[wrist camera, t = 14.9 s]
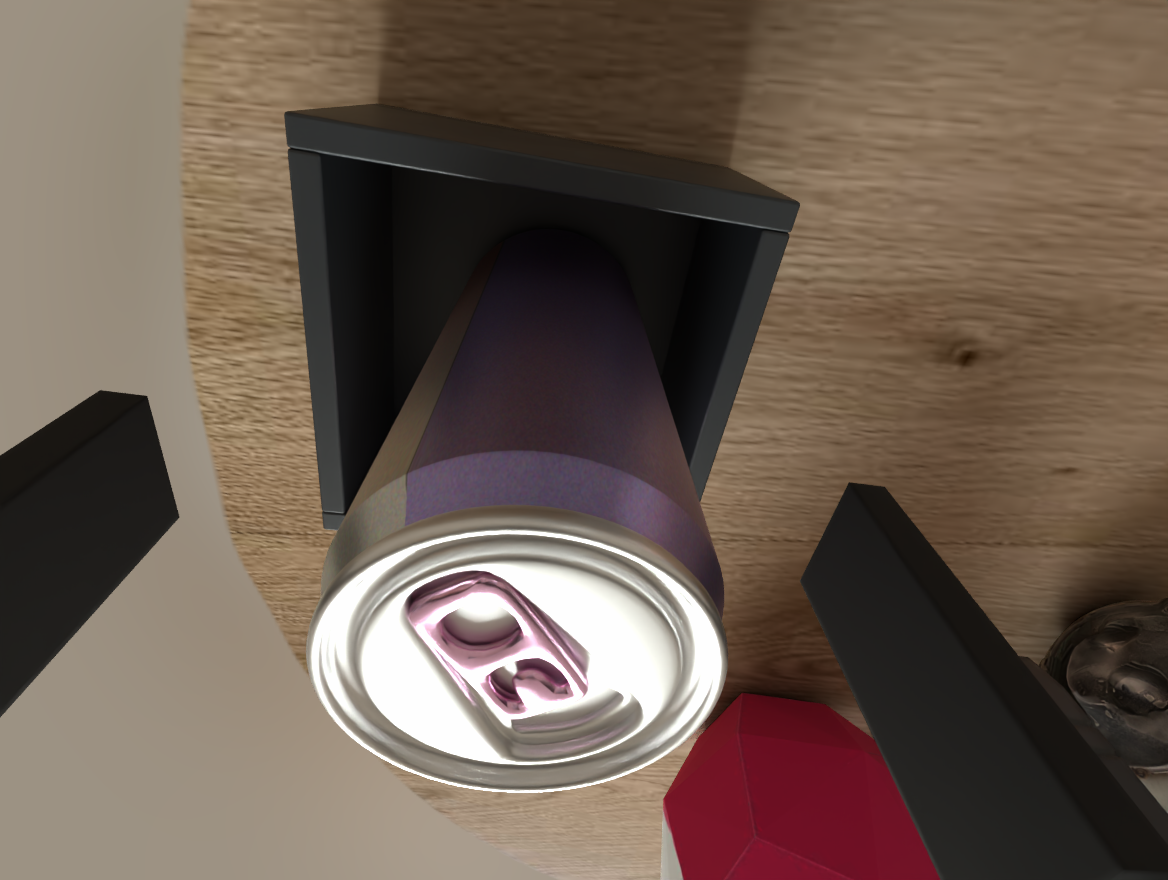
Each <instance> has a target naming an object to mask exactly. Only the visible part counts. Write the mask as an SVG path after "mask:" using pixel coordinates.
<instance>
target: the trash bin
mask: <svg viewBox="0 0 1168 880" xmlns="http://www.w3.org/2000/svg"><path fill="white" fill-rule="evenodd" d="M284 116H285V127H286V137H287V145H288V147H290V148H291V149H288V159H289V170H290V180H291V190H292V201H293V211H294V222H295V232H296V243H297V253H298V263H299V274H300V284H301V295H302V305H303V316H304V326H305V337H306V347H307V357H308V368H309V378H310V389H311V399H312V410H313V420H314V431H315V441H316V451H317V462H318V472H319V483H320V493H321V504H322V510H323V512H322V516H323V526H324V529H329V530H338V529H339V527H340V526H341V524H342V522H343V520H344V518H345V516H346V514H347V512H348V510H349V508H350V506H351V504H352V503H353V501H354V499H355V497H356V495H357V493H358V491H359V489H360V487H361V485H362V483H363V481H364V480H365V478H366V476H367V474H368V472H369V470H370V468H371V466H372V464H373V462H374V460H375V459H376V457H377V455H378V453H379V451H380V449H381V447H382V445H383V443H384V441H385V439H386V437H387V436H388V434H389V432H390V430H391V428H392V426H393V424H394V422H395V420H396V418H397V416H398V415H399V413H400V411H401V409H402V407H403V405H404V403H405V401H406V399H407V397H408V395H409V393H410V392H411V390H412V388H413V386H414V384H415V382H416V380H417V378H418V376H419V374H420V372H421V371H422V369H423V367H424V365H425V363H426V361H427V359H428V357H429V355H430V353H431V351H432V349H433V348H434V346H435V344H436V342H437V340H438V338H439V336H440V334H441V332H442V330H443V328H444V326H445V325H446V323H447V321H448V319H449V317H450V315H451V313H452V311H453V309H454V307H455V305H456V304H457V302H458V300H459V298H460V296H461V294H462V292H463V290H464V288H465V286H466V284H467V282H468V281H469V279H470V277H471V275H472V273H473V271H474V270H475V268H476V266H477V265H478V263H479V262H480V261H481V260H482V258H483V257H484V256H485V255H486V254H487V253H488V252H489V251H490V250H491V249H493V248H494V247H495V246H496V245H498V244H499V243H501V242H502V241H504V240H506V239H508V238H510V237H512V236H514V235H517V234H520V233H523V232H526V231H531V230H538V229H557V230H564V231H569V232H573V233H576V234H579V235H581V236H584V237H586V238H588V239H590V240H592V241H594V242H595V243H597V244H598V245H600V246H601V247H603V248H604V249H605V250H606V251H607V252H608V253H609V254H611V255H612V256H613V258H614V259H615V260H616V261H617V262H618V263H619V265H620V266H621V267H622V269H623V271H624V272H625V274H626V276H627V278H628V280H629V282H630V284H631V287H632V290H633V293H634V296H635V300H636V303H637V306H638V309H639V312H640V315H641V319H642V322H643V325H644V328H645V331H646V334H647V337H648V341H649V344H650V347H651V350H652V353H653V356H654V360H655V363H656V366H657V369H658V372H659V375H660V379H661V382H662V385H663V388H664V391H665V394H666V397H667V401H668V404H669V407H670V410H671V413H672V416H673V420H674V423H675V426H676V429H677V432H678V435H679V439H680V442H681V445H682V448H683V451H684V454H685V457H686V461H687V464H688V467H689V470H690V473H691V476H692V480H693V483H694V486H695V489H696V492H697V495H698V499H699V502H700V501H701V498H702V495H703V492H704V489H705V486H706V483H707V480H708V477H709V474H710V471H711V468H712V465H713V462H714V459H715V456H716V453H717V450H718V447H719V444H720V441H721V438H722V435H723V432H724V429H725V426H726V423H727V420H728V418H729V415H730V412H731V409H732V406H733V403H734V400H735V397H736V394H737V391H738V388H739V385H740V382H741V379H742V376H743V373H744V370H745V367H746V364H747V361H748V358H749V355H750V352H751V349H752V346H753V343H754V340H755V337H756V334H757V331H758V328H759V325H760V322H761V320H762V317H763V314H764V311H765V308H766V305H767V302H768V299H769V296H770V293H771V290H772V287H773V284H774V281H775V278H776V275H777V272H778V269H779V266H780V263H781V260H782V257H783V254H784V251H785V248H786V245H787V242H788V239H789V234H788V232H791V230H792V228H793V225H794V222H795V219H796V216H797V213H798V210H799V207H800V203H799V202H798V201H796V200H794V199H792V198H790V197H788V196H786V195H784V194H782V193H779V192H777V191H775V190H773V189H771V188H769V187H767V186H765V185H763V184H761V183H759V182H757V181H755V180H753V179H751V178H749V177H747V176H745V175H743V174H741V173H739V172H737V171H735V170H732V169H730V168H728V167H724V166H718V165H713V164H707V163H702V162H696V161H691V160H685V159H680V158H674V157H669V156H663V155H658V154H652V153H647V152H641V151H636V150H630V149H625V148H619V147H614V146H608V145H602V144H597V143H591V142H586V141H580V140H575V139H569V138H564V137H558V136H553V135H547V134H542V133H536V132H531V131H525V130H520V129H514V128H509V127H503V126H498V125H492V124H487V123H481V122H476V121H470V120H465V119H459V118H453V117H448V116H442V115H437V114H431V113H426V112H420V111H415V110H409V109H404V108H398V107H393V106H387V105H382V104H367V105H356V106H344V107H332V108H321V109H309V110H297V111H287V112H285V115H284Z"/></svg>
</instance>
